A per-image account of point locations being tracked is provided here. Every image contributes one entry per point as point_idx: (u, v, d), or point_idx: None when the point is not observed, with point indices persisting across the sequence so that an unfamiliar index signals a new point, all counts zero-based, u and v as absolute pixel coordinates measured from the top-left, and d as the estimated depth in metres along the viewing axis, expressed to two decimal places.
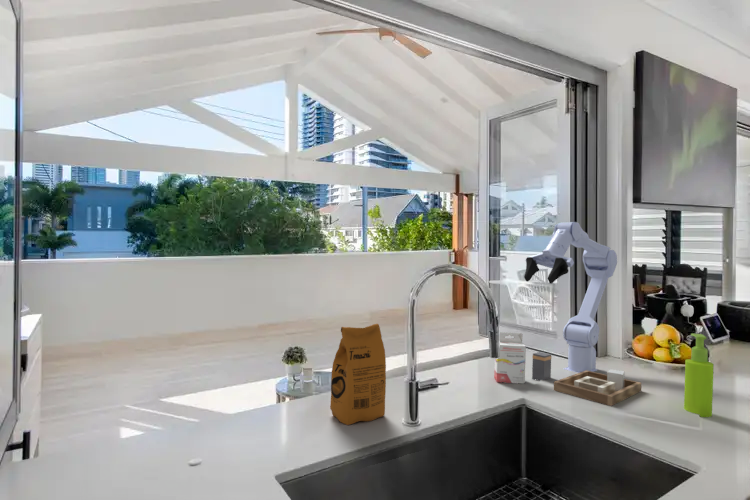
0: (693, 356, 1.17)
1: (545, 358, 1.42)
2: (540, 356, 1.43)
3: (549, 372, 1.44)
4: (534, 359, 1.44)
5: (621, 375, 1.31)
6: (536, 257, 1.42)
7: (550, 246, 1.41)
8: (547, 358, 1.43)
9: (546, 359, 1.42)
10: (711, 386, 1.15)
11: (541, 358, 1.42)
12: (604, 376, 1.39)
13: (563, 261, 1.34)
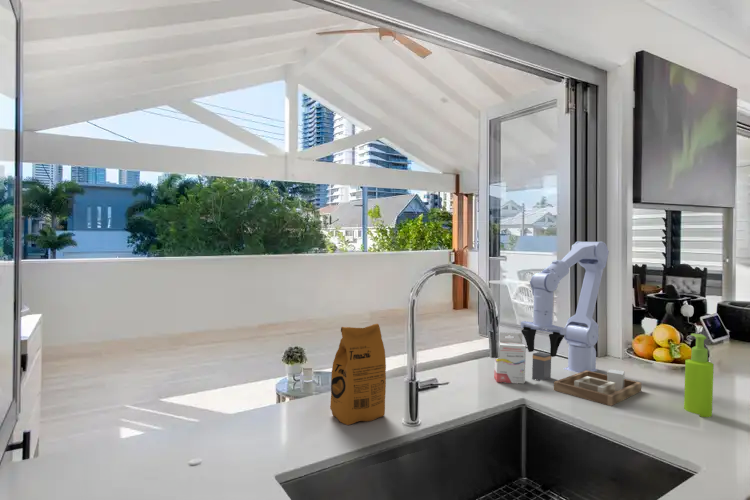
0: (693, 356, 1.17)
1: (545, 358, 1.42)
2: (540, 356, 1.43)
3: (549, 372, 1.44)
4: (534, 359, 1.44)
5: (621, 375, 1.31)
6: (529, 325, 1.46)
7: (537, 316, 1.43)
8: (547, 358, 1.43)
9: (546, 359, 1.42)
10: (711, 386, 1.15)
11: (541, 358, 1.42)
12: (604, 376, 1.39)
13: (557, 337, 1.38)
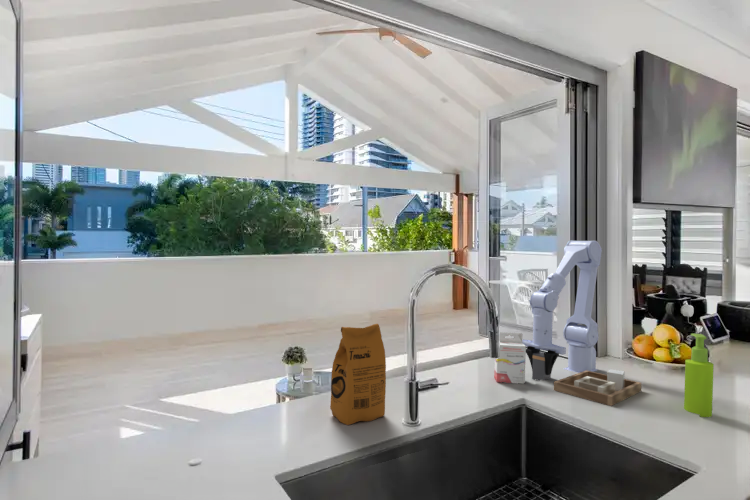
0: (693, 356, 1.17)
1: None
2: (540, 356, 1.43)
3: None
4: (534, 359, 1.44)
5: (621, 375, 1.31)
6: None
7: (537, 335, 1.43)
8: None
9: None
10: (711, 386, 1.15)
11: (541, 358, 1.42)
12: (604, 376, 1.39)
13: (552, 356, 1.40)
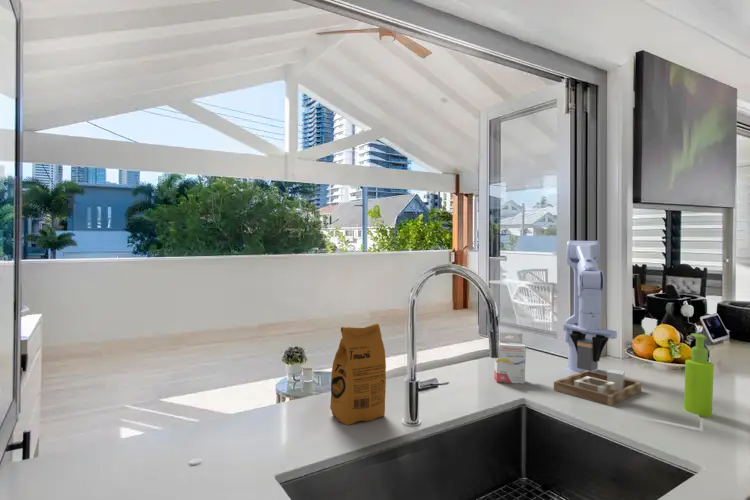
0: (693, 356, 1.17)
1: (592, 345, 1.29)
2: (586, 343, 1.30)
3: None
4: (579, 346, 1.32)
5: (621, 375, 1.31)
6: (574, 328, 1.34)
7: (584, 318, 1.30)
8: None
9: None
10: (711, 386, 1.15)
11: (587, 345, 1.30)
12: (604, 376, 1.39)
13: (601, 340, 1.27)
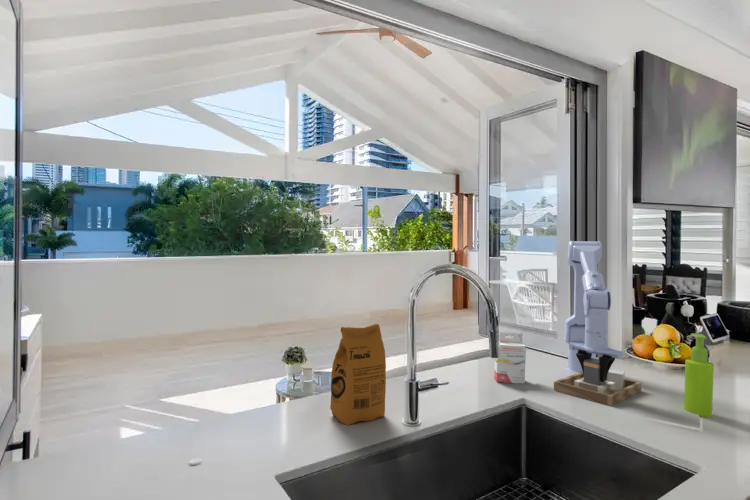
0: (693, 356, 1.17)
1: (599, 365, 1.28)
2: (593, 363, 1.29)
3: None
4: (585, 366, 1.30)
5: (621, 375, 1.31)
6: None
7: (590, 338, 1.29)
8: None
9: None
10: (711, 386, 1.15)
11: (594, 365, 1.28)
12: None
13: (608, 361, 1.26)
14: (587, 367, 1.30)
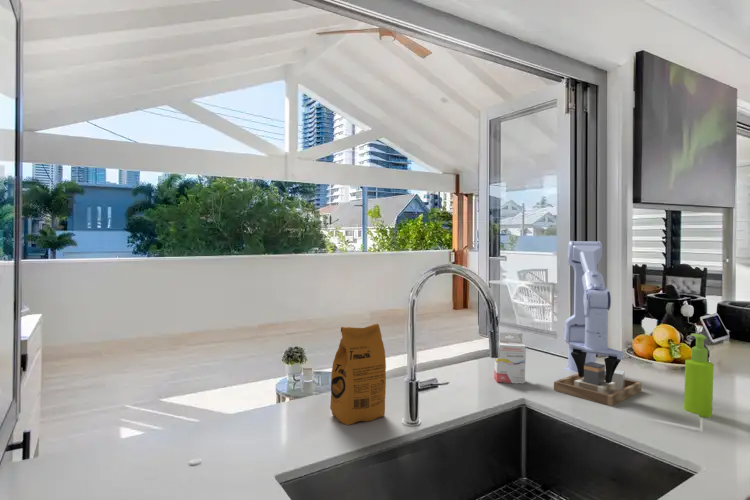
0: (693, 356, 1.17)
1: (599, 369, 1.28)
2: (593, 367, 1.29)
3: (602, 384, 1.30)
4: (585, 369, 1.30)
5: (621, 375, 1.31)
6: None
7: (590, 338, 1.29)
8: (601, 369, 1.29)
9: (600, 370, 1.28)
10: (711, 386, 1.15)
11: (594, 369, 1.28)
12: None
13: (614, 362, 1.25)
14: (587, 371, 1.30)
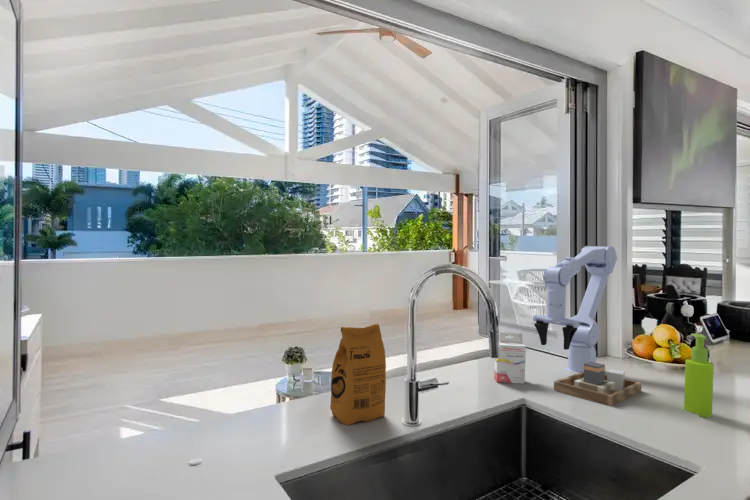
0: (693, 356, 1.17)
1: (599, 369, 1.28)
2: (593, 367, 1.29)
3: (602, 384, 1.30)
4: (585, 369, 1.30)
5: (621, 375, 1.31)
6: None
7: (550, 310, 1.44)
8: (601, 369, 1.29)
9: (600, 370, 1.28)
10: (711, 386, 1.15)
11: (594, 369, 1.28)
12: None
13: (570, 330, 1.40)
14: (587, 371, 1.30)
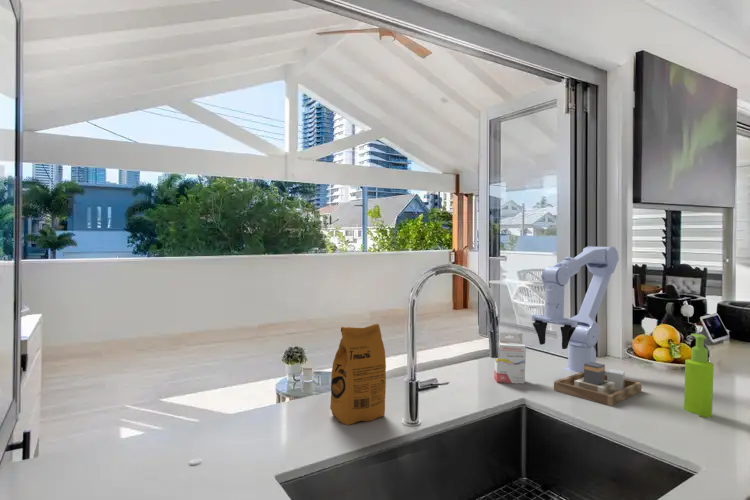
0: (693, 356, 1.17)
1: (599, 369, 1.28)
2: (593, 367, 1.29)
3: (602, 384, 1.30)
4: (585, 369, 1.30)
5: (621, 375, 1.31)
6: (541, 318, 1.49)
7: (549, 309, 1.45)
8: (601, 369, 1.29)
9: (600, 370, 1.28)
10: (711, 386, 1.15)
11: (594, 369, 1.28)
12: None
13: (568, 329, 1.41)
14: (587, 371, 1.30)
